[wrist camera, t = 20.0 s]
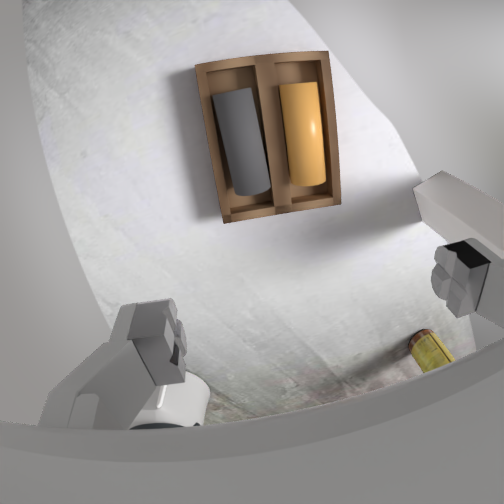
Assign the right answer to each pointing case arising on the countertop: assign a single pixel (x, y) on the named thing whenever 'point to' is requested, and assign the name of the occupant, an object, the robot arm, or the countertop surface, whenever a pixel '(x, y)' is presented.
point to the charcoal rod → (242, 141)
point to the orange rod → (303, 133)
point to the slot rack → (271, 130)
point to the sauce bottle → (429, 351)
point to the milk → (461, 211)
